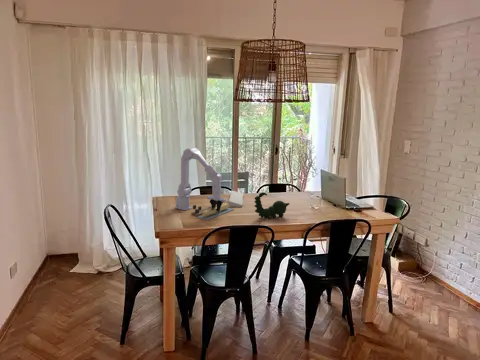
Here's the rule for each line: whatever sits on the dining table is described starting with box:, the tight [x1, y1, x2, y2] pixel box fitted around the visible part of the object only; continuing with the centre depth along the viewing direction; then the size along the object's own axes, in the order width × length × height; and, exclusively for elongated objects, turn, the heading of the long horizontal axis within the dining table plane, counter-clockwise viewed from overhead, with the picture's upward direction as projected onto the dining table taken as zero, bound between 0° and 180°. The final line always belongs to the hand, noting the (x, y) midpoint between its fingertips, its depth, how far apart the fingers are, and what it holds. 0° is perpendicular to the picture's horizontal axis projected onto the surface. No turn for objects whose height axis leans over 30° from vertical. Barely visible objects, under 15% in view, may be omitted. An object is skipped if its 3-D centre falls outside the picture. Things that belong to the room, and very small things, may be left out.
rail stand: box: [191, 199, 218, 217], centre depth 247 cm, size 6×24×6 cm, turn 147°
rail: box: [203, 202, 230, 217], centre depth 242 cm, size 3×26×3 cm, turn 147°
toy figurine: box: [254, 191, 290, 220], centre depth 238 cm, size 9×19×25 cm
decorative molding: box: [227, 190, 244, 208], centre depth 277 cm, size 34×5×10 cm
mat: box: [196, 207, 235, 221], centre depth 243 cm, size 9×30×1 cm, turn 147°
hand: (216, 210), depth 243 cm, fingers closed on rail, 3 cm apart
